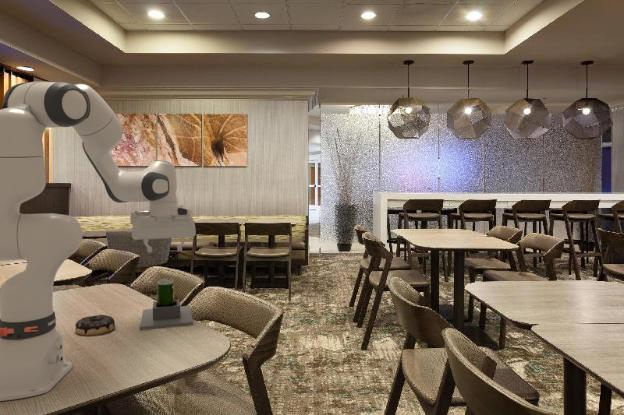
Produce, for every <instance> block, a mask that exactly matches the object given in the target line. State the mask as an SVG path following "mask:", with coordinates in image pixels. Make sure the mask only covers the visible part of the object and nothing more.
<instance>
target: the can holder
mask: <svg viewBox="0 0 624 415" xmlns="http://www.w3.org/2000/svg"><path fill="white" fill-rule="evenodd" d="M180 300H181V299H174V306H165V307H158V300H155V301H153V302H152V308H146V309H143V310H142V314H141V318H140V325H139V330H140V331H144V330H155V329H166V328H176V327H185V326H186V327H187V326H193V325H194V320H193V313H192V308H191V305H183V306H181V302H180Z"/></svg>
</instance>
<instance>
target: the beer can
mask: <svg viewBox="0 0 624 415" xmlns="http://www.w3.org/2000/svg"><path fill="white" fill-rule="evenodd" d="M174 282H175V281H174V279H173V278H170V277H169V278H167V277H166V278H165V277H164V278H160V279H157V283H156V294H157V298H156V299H157V300H156V301H158V307H165V306H174V300H175V283H174Z"/></svg>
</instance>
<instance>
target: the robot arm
mask: <svg viewBox="0 0 624 415" xmlns="http://www.w3.org/2000/svg"><path fill="white" fill-rule="evenodd" d="M0 107H1V108H0V262H4V261H5V262H6V261H26V266H25V269H24V270H23V271H20V272H19V273H16V274H15V275H12V276H11V277H9V278H8V279H6V280H5V281H4V282H3V283H2V284H1V286H0V402H1V401H4V402H5V401H11V400H18V399H25V398H30V397H34V396H38V395H42V394H46V393H48V392H50V390H52V389H53V388H54V386H56V384H58V383H59V381H61V380H62V379H63V378H64V377H65V376H66V375H67V374H68V372H70V371H72V369H73V366H74V365H73V362H71V361H66V353H65V343H64V336H63V334H62V333H60V332H59V331H58V330H57V329H56V326H57V325H56V324H57V323H56V322H57V317H56V312H55V311H54V301H53V300H54V299H53V298H54V293H53V292H54V283H55V279H56V275H57V273H58V271H59V269H60V267H61V266H62V265H63V263H65V261H66V260H67V259H68V258H70V257H71V256H72V255H73V254H75V253H76V252H77V250H78V249H79V248H80V246H81V244H82V241H83V235H84V234H83V228H82V226H81V224H80V223H79V221H78V219H76V217H74V216H73V215H69V214H60V213H53V212H52V213H21V212H20V209H21V205H22V204H23V203H25V202H27V201H29V200H32V199H34V198H35V197H37V196H39V195H40V194H42V193H43V191H44V190H45V187H46V185H47V184H46V183H47V180H46V179H47V178H46V168H45V166H46V165H45V154H44V153H45V152H44V144H43V138H44V137H43V136H44V133H45V130H46V128H49V129H50V128H51V129H52V128H53V129H54V128H61V127H62V128H69V127H70V128H71V127H72V128H73V129H74V131H75V132H76V133H77V135H78V136H79V137H80V139H81V140H82V143H81V144H82V150H83V152H84V154H85V156H86V158H87V159H88V161H89V162H90V164H91V165H92V167H93V168H94V171H96V173H97V174H98V177H99V178H100V179H101V181H102V183H103V185H104V186H103V187H104V189H105V191H106V194H107V195H108V197H109V198H110V199H111V200H112V201H113V202H115V203H117V204H121V203H122V204H123V203H131V202H133V203H134V202H135V203H141V202H142V203H143V202H145V203H146V202H148V204H149V210H142V211H141V210H136V211H134V212H132V213H131V214H130V217H129V218H130V219H129V220H130V224H131V225H132V228H131V238H132V239H133V240H136V241H137V240H138V241H139V240H140V241H141V240H143V244H144V245H145V247H146V248H147V254H151V253H152V254H153V246H150V245H149V240H157V239H158V240H159V239H161V240H162V239H178V238H179V239H180V241H181V242H180V244H179V245H178V244H177V245H176V246H177V249H176V250H177V252H182V251H183V245H184V244H185V242H186V238H194V237H195V236H196V234H197V233H196V225H195V220H194V218H193V216H192V215H191V214H192V210H191V208H190V207H187V206H183V205H179V204H178V198H177V189H178V188H177V187H178V186H177V185H178V184H177V174H176V172H177V171H176V169H175V165H174V164H173V163H172V162H170V161H165V160H152V161H150V162H149V165H148V166H147V167H146V168H145V169H142V170H137V171H134V170H133V171H128V170H123V169H121V168H119V167H118V165H117V164H116V162H115V160H114V158H113V157H112V155H111V153H110V152H111V151H113V150H114V149H115V148H116V147H117V145H118V144H119V143H120V142H121V140H122V139H123V138H122V137H123V134H124V129H123V128H124V127H123V124H122V123H121V121H120V119H119V118H118V116H117V115H116V114H115V112H114V111H113V109H112V108H111V106H110V105H109V104H108V103H107V102H106V101H105V100H104V98H103V97H102V96H101V95H100V94H99V93H98V92H97V91H96V90H95V89H93V87H91V86H89V85H88V84H85V83H76V84H73V83H69V82H65V81H64V82H63V81H59V82H58V81H57V82H54V81H46V80H45V81H44V80H41V81H40V80H38V81H31V82H20V83H17V84H14V85H13V86H10V87H9V88H7V90H6V91H5V93H4V96H3V99H2V105H1V106H0Z"/></svg>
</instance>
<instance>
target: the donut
mask: <svg viewBox="0 0 624 415" xmlns="http://www.w3.org/2000/svg"><path fill="white" fill-rule="evenodd" d="M115 327H116V323H115V319H114V318H113V317H112V316H111V315H108V314H96V315H89V316H85V317H82V318H80V319H78V320H77V321H76V322H75V329H74V331H75V333H77V334H78V335H82V336H99V335H103V334H106V333H109V332H111V331H113V330H114V328H115Z"/></svg>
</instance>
